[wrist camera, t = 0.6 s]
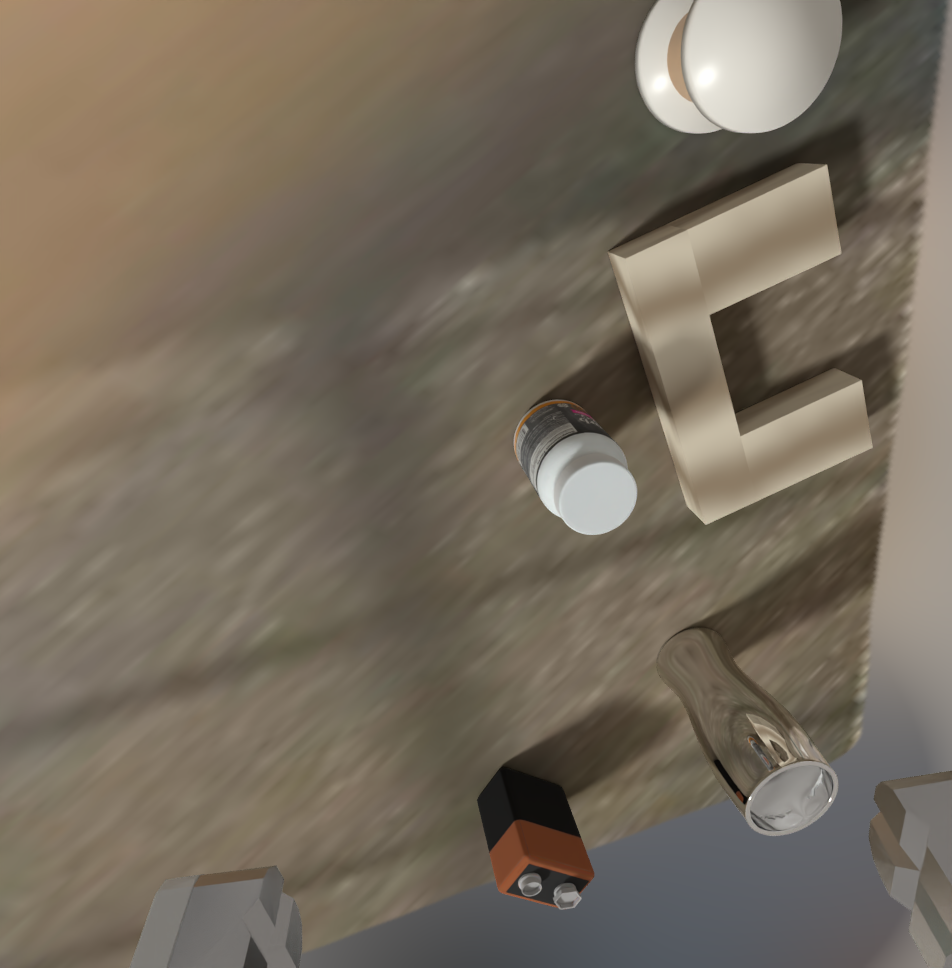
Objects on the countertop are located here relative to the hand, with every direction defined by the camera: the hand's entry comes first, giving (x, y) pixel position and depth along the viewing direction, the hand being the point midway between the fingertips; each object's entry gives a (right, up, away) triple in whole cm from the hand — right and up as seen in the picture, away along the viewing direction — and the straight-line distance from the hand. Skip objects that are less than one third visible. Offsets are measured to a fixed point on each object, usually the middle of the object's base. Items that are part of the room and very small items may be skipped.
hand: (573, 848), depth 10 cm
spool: (+12, +29, +32) cm, 45 cm away
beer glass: (+16, -9, +52) cm, 55 cm away
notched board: (+17, +14, +41) cm, 46 cm away
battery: (+2, -22, +55) cm, 59 cm away
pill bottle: (+4, +8, +41) cm, 42 cm away
